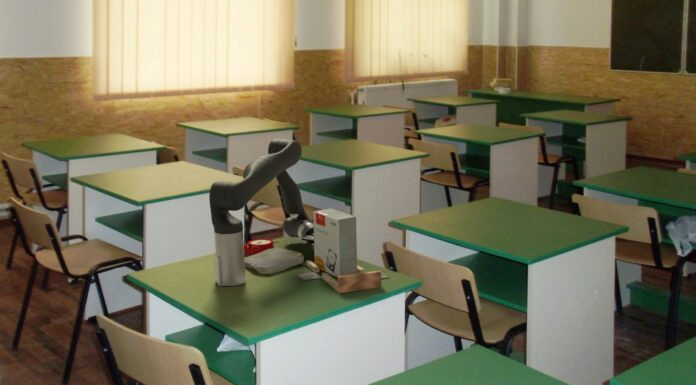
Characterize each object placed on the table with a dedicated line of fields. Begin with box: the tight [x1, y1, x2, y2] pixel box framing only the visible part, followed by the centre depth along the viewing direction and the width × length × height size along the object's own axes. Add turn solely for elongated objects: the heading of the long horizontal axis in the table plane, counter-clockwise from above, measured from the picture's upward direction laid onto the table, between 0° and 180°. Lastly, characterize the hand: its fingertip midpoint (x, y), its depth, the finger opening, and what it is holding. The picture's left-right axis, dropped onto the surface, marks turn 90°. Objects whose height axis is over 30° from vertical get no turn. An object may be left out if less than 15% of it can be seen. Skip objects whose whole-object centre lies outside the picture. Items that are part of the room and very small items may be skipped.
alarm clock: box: [244, 237, 280, 256], centre depth 302 cm, size 10×6×15 cm
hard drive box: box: [312, 207, 358, 278], centre depth 275 cm, size 16×8×20 cm, turn 35°
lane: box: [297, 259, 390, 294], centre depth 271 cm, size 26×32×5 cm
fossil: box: [244, 246, 304, 275], centre depth 287 cm, size 20×5×17 cm
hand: (327, 245), depth 283 cm, fingers closed
